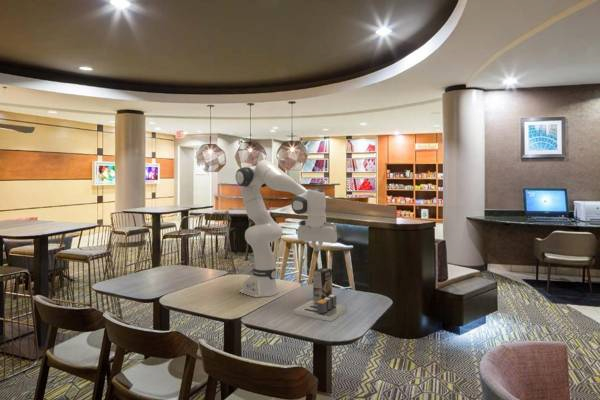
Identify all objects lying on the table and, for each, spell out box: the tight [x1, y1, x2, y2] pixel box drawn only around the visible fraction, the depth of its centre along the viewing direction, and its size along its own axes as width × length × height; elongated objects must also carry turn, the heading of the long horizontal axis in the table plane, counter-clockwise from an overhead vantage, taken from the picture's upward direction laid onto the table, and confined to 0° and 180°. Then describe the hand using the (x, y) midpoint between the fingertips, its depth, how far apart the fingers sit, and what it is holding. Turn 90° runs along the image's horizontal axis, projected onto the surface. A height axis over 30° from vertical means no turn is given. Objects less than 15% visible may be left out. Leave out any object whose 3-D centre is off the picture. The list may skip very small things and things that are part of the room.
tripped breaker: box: [317, 299, 327, 313], centre depth 175 cm, size 3×4×5 cm
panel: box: [293, 299, 348, 323], centre depth 181 cm, size 20×16×2 cm
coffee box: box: [312, 267, 333, 301], centre depth 199 cm, size 9×6×16 cm
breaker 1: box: [323, 297, 332, 310], centre depth 179 cm, size 3×4×5 cm
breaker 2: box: [327, 294, 337, 307], centre depth 183 cm, size 3×4×5 cm
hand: (317, 250), depth 183 cm, fingers closed
